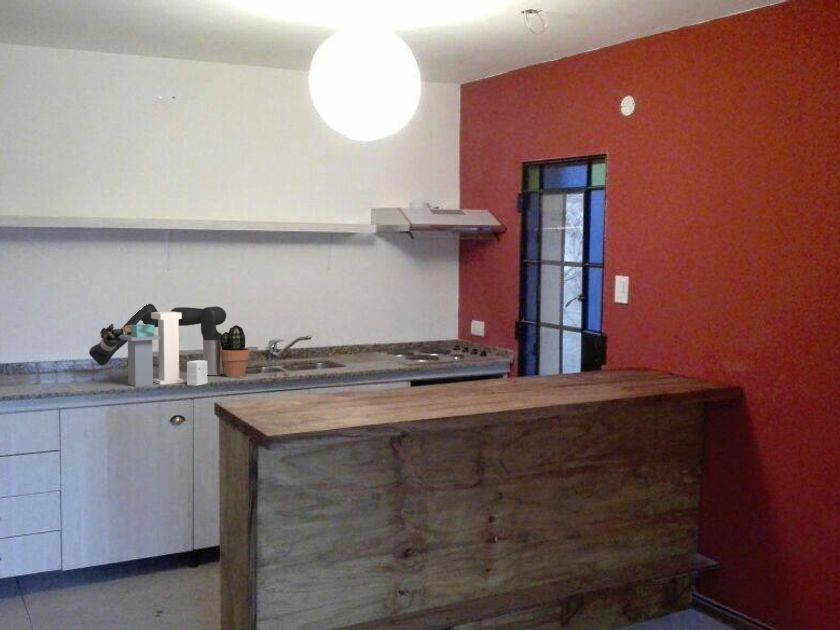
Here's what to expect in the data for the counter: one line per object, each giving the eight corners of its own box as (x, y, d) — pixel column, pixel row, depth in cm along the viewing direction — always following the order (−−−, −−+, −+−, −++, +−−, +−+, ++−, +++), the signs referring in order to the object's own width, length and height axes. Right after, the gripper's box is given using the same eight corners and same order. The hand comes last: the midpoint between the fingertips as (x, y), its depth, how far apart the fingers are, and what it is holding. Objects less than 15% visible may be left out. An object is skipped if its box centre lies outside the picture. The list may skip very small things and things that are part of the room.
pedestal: (148, 381, 389) (148, 334, 387) (160, 385, 379) (160, 336, 378) (120, 384, 380) (119, 335, 379) (132, 387, 371) (131, 337, 369)
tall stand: (173, 379, 395) (173, 311, 393) (183, 382, 388) (182, 312, 386) (151, 382, 388) (150, 312, 386) (160, 384, 381) (159, 313, 378)
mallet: (136, 333, 391) (136, 322, 391) (154, 336, 376) (154, 325, 376) (119, 334, 386) (119, 323, 386) (136, 337, 371) (136, 326, 371)
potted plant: (248, 374, 417) (247, 323, 416) (251, 377, 404) (251, 325, 403) (219, 375, 413) (219, 323, 411) (222, 378, 400) (221, 326, 398)
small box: (197, 382, 387) (197, 359, 387) (207, 383, 385) (207, 360, 385) (186, 385, 380) (186, 361, 379) (197, 385, 378) (196, 362, 377)
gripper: (126, 346, 408) (138, 331, 397) (97, 348, 399) (108, 333, 388) (123, 332, 411) (135, 317, 400) (94, 334, 401) (104, 318, 390)
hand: (121, 325), depth 394 cm, fingers open, 8 cm apart
